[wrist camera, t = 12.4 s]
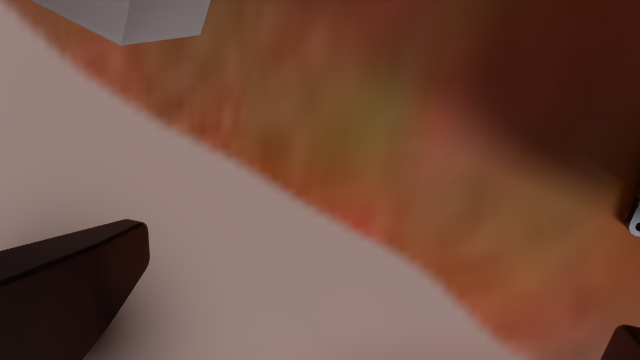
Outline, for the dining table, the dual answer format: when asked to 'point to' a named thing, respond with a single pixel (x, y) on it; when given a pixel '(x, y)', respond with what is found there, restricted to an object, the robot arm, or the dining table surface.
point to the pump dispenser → (134, 18)
